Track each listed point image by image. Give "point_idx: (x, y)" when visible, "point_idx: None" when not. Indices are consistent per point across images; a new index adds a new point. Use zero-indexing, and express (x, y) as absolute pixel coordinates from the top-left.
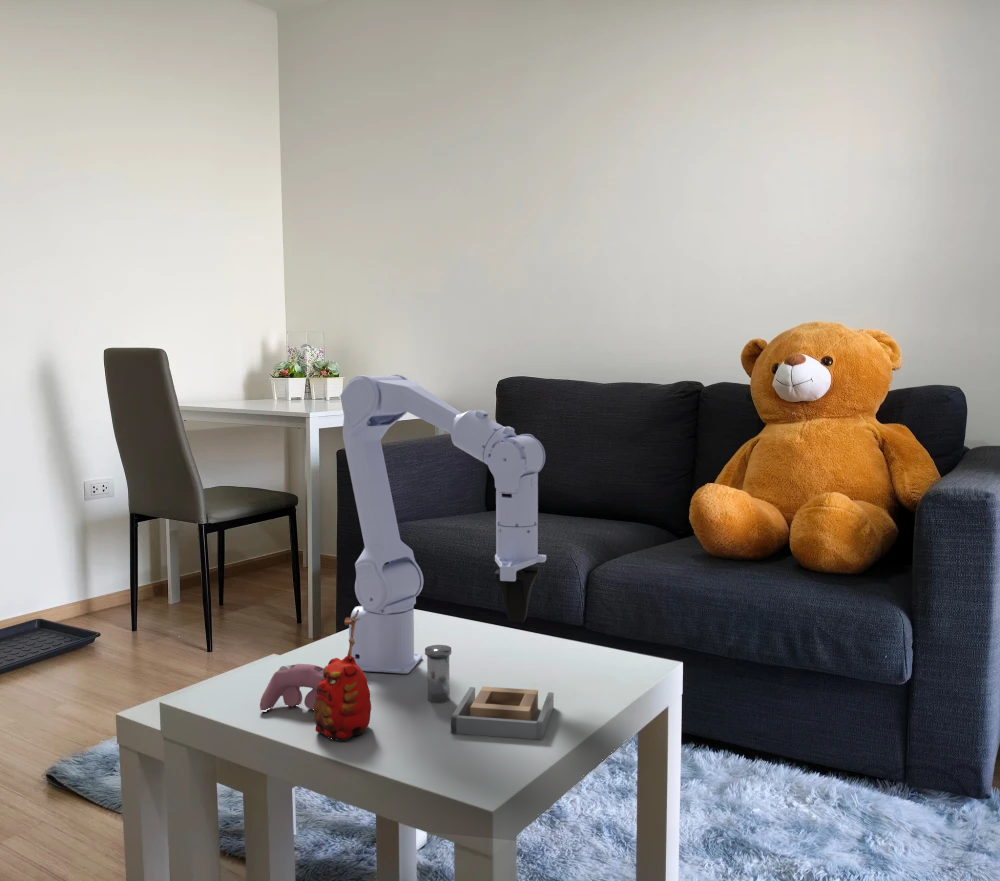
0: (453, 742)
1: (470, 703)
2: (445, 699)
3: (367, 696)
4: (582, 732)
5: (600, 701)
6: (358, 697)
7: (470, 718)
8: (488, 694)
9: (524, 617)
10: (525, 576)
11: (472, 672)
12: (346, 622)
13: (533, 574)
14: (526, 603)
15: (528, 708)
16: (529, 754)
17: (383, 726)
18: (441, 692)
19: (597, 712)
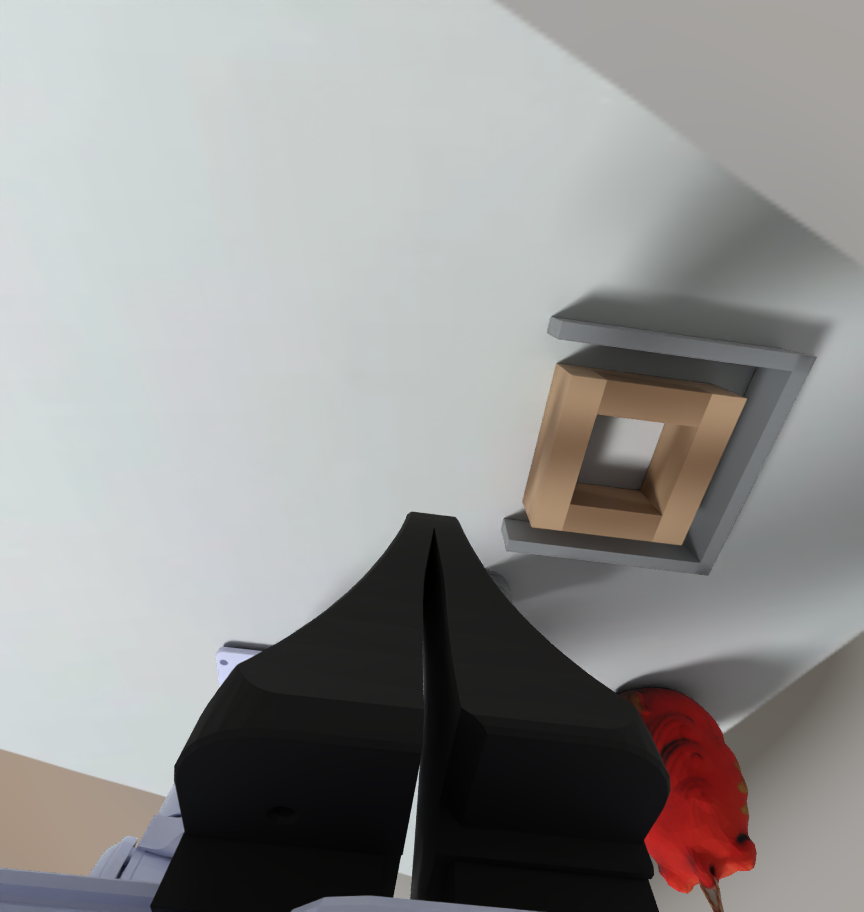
0: (739, 542)
1: (559, 533)
2: (502, 580)
3: (707, 755)
4: (756, 224)
5: (503, 145)
6: (734, 772)
7: (726, 535)
8: (594, 509)
9: (460, 527)
10: (641, 818)
11: (295, 537)
12: None
13: (548, 758)
14: (485, 572)
15: (724, 400)
16: (859, 379)
17: (629, 661)
18: (510, 600)
19: (602, 163)
